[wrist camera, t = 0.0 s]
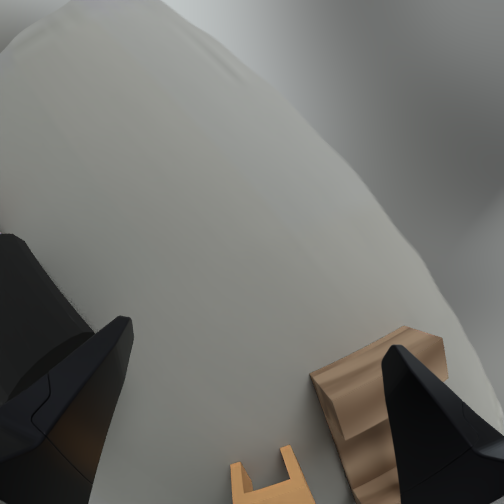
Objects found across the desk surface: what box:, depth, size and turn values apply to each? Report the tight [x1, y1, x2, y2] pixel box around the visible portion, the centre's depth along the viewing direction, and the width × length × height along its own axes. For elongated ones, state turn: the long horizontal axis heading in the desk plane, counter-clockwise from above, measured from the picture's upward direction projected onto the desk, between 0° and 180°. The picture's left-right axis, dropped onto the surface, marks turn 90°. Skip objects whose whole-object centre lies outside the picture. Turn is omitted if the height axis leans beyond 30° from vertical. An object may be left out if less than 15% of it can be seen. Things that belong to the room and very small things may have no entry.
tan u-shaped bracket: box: [230, 445, 316, 504], centre depth 21 cm, size 6×3×6 cm, turn 111°
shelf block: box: [310, 326, 448, 504], centre depth 22 cm, size 20×10×7 cm, turn 21°
